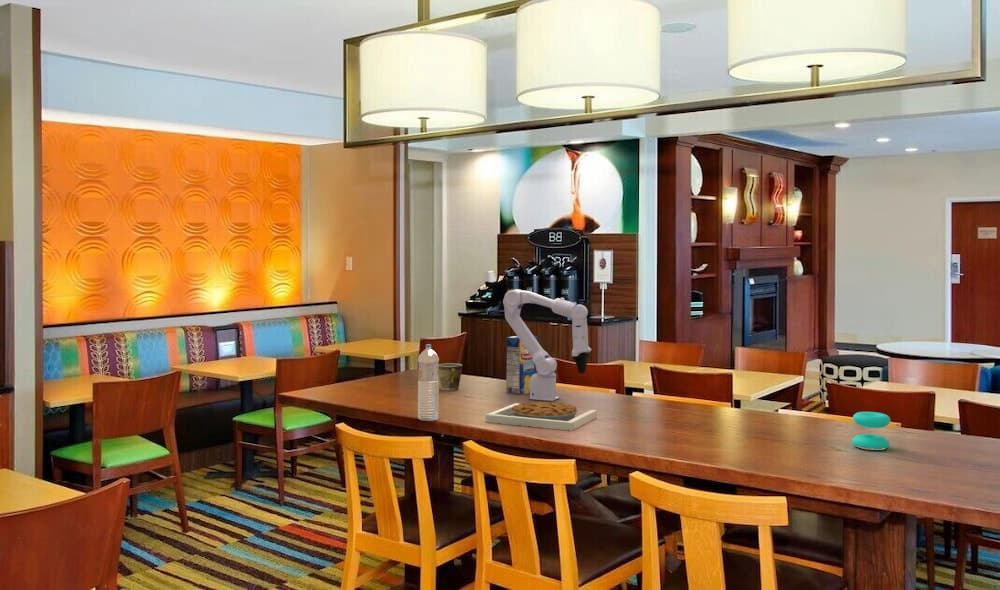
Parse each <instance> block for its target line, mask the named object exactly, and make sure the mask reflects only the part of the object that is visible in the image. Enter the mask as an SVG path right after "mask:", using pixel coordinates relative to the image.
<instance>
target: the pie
mask: <svg viewBox="0 0 1000 590" xmlns="http://www.w3.org/2000/svg"><path fill="white" fill-rule="evenodd" d="M511 411H512V412H513V414H512V415H513V416H518V417H528V418H539V419H549V420H560V421H569V420H571V419H573V418H575V416H576V414H577V413H578V409H577V407H576V405H575V406H573V405H572V404H565V403H564V402H559V403H555V402H553V401H548V402H547V401H546V402H545V401H537V402H527V401H526V403H522V402H521V404H518V406H517V405H515V406H514V407H512V410H511Z"/></svg>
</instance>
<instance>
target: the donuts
mask: <svg viewBox="0 0 1000 590" xmlns="http://www.w3.org/2000/svg"><path fill="white" fill-rule="evenodd" d="M852 420H853V422H854V423H855V424H856V425H858V426H860V427H863V428H868V429H881V428H885V427H887V426H889V425H890V423H891V417H890V416H889V415H887V414H885V413H882V412H877V411H876V412H875V411H858V412H856V413H854V414H853V416H852ZM851 442H852V443H851V444H852V445H853V446H854V445H856V446H859V447H864V448H874V449H882V448H888V447H889V448H890V441H889V440H888V439H887V438H886V437H884V436H883V435H882V436H881V435H878V434H874V433H872V434H871V433H862V434H858V435H855V436H854V437H853V438H852V441H851ZM889 448H888V449H889Z"/></svg>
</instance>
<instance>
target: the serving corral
mask: <svg viewBox="0 0 1000 590" xmlns="http://www.w3.org/2000/svg"><path fill="white" fill-rule="evenodd" d="M521 403H522V402H521ZM521 403H520V402H519V403H518V402H515V403H513V404H511V405H507V406H505V407H502V408H499V409H496V410H494V411H492V412H489V413H485V423H488V422H492V423H491V424H498V423H501V424H500V425H508V424H510V425H511V426H518V425H521V426H520V427H528V426H531V428H538V427H542V428H541V429H548V428H549V429H550V430H560V431H568V430H569V431H571V432H572V431H574V430H576V429H578V428H579V427H581V426H584V425H585V424H587V423H589V422H592V421H593V420H594V419H597V417H598V410H597V409H590V410H588V411H585V412H584V413H582V414H579V415H578V416H576V417H574V418H573V419H571V420H569V421H560V420H549V419H539V418H528V417H518V416H514V414H513V412H512V411H511V410H512V407H514V406H515V405H517V406H518V404H521ZM508 415H509V416H508ZM510 425H509V426H510Z"/></svg>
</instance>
